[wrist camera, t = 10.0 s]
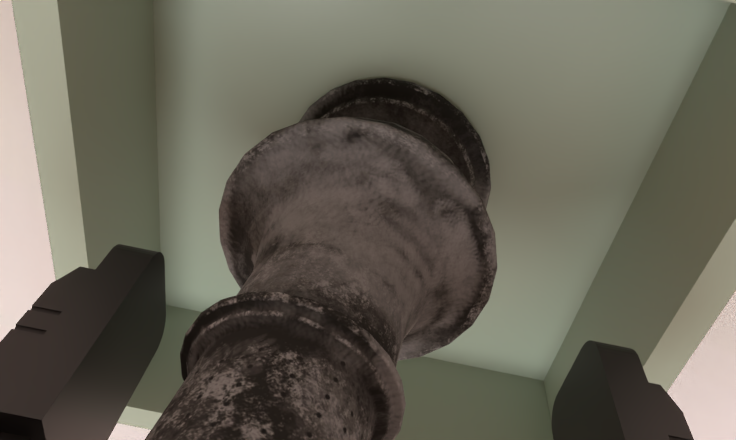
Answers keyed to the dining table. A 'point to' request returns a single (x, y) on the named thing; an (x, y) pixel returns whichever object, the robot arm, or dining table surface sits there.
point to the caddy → (488, 117)
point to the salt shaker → (339, 269)
